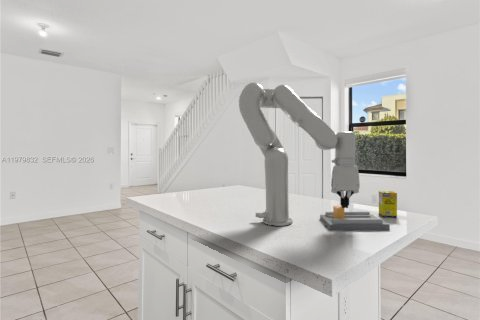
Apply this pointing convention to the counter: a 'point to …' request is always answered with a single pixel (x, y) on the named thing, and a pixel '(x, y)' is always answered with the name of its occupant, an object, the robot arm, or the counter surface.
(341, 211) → the block
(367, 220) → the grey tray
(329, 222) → the breaker panel
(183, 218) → the counter surface
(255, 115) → the robot arm
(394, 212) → the supplement box
